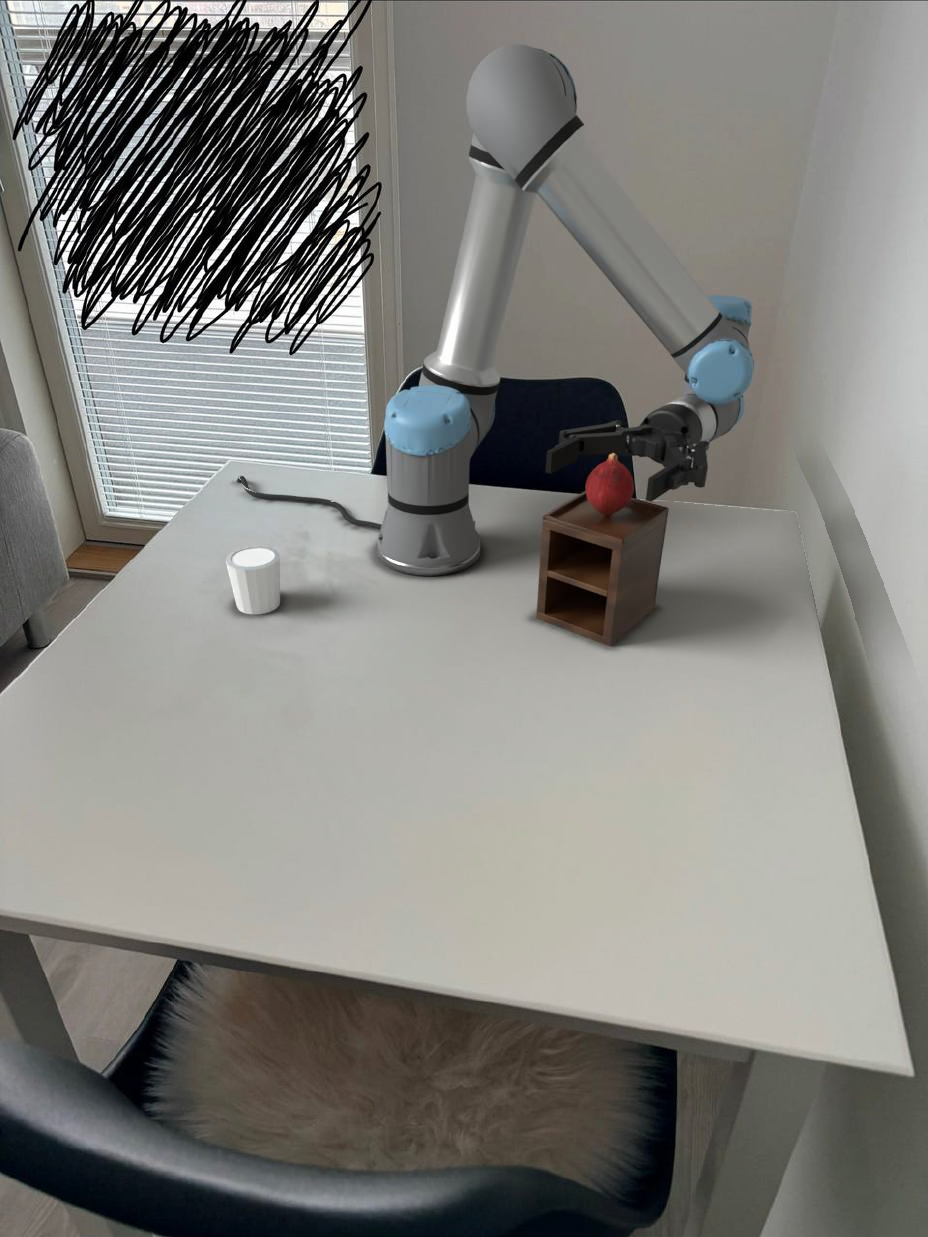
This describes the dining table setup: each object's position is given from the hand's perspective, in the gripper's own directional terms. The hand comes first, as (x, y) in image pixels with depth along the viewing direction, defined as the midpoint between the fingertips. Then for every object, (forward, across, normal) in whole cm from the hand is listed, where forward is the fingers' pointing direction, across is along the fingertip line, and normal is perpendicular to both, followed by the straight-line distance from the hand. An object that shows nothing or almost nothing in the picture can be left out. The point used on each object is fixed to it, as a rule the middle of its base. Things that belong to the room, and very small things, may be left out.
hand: (597, 475), depth 103 cm
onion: (-3, 0, -6) cm, 7 cm away
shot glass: (+23, +36, -21) cm, 48 cm away
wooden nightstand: (-3, 0, -20) cm, 21 cm away
